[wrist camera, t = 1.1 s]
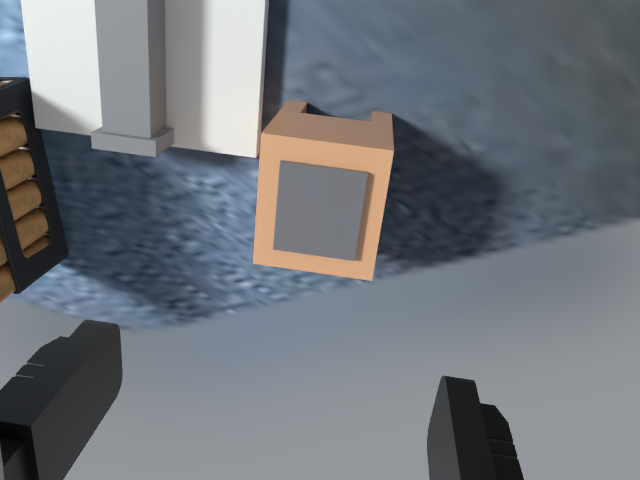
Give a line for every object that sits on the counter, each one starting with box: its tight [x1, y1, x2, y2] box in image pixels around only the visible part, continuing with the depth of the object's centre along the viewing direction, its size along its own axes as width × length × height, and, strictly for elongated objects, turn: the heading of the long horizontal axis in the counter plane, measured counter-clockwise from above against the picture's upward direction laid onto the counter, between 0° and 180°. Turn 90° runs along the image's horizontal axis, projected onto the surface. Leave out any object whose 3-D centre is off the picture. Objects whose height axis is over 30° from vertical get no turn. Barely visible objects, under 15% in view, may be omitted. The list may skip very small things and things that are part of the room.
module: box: [253, 100, 394, 281], centre depth 27 cm, size 5×6×7 cm
